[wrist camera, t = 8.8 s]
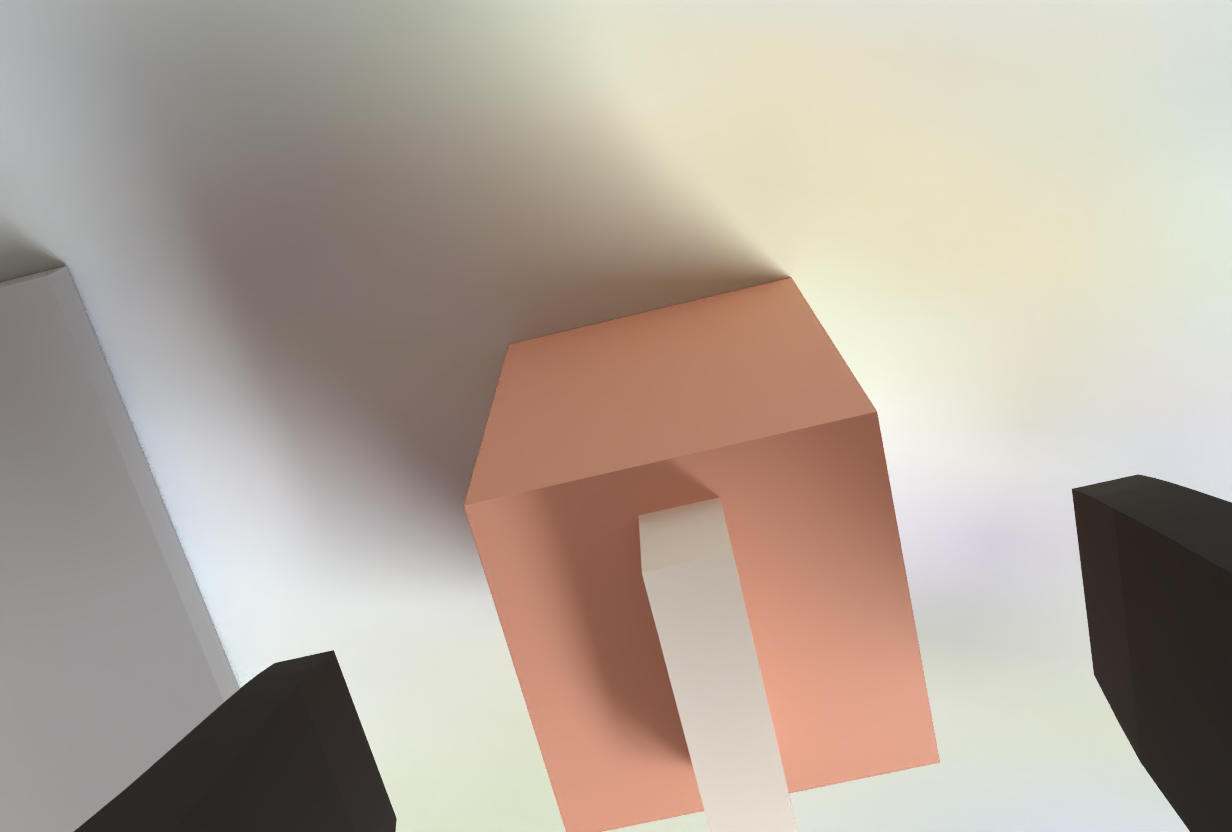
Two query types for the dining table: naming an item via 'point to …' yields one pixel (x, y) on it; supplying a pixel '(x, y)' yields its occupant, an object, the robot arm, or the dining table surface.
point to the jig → (85, 578)
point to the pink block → (699, 564)
